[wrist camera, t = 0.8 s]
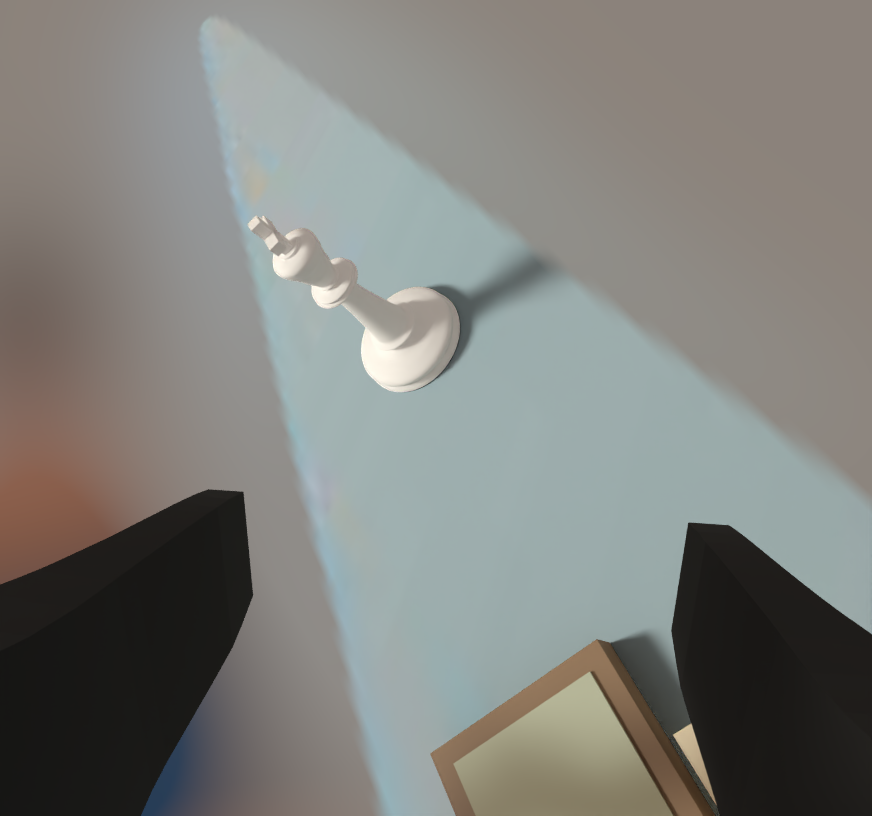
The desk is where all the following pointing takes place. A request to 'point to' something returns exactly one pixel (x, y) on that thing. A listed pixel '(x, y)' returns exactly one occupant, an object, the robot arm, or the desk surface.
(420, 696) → the desk surface
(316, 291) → the chess piece
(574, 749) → the brown framed square tile
